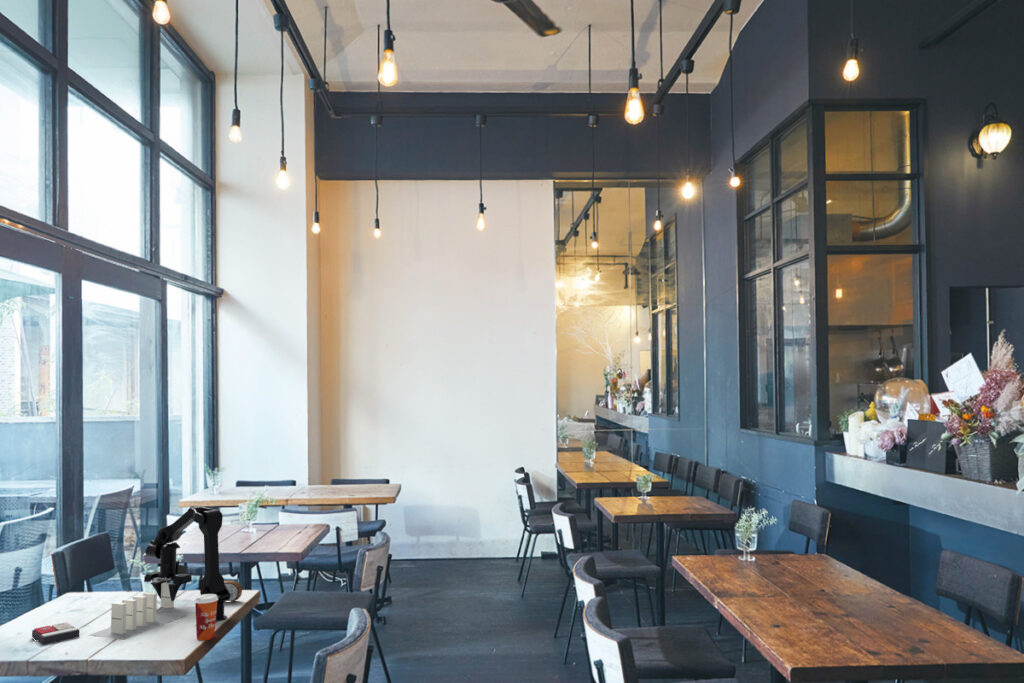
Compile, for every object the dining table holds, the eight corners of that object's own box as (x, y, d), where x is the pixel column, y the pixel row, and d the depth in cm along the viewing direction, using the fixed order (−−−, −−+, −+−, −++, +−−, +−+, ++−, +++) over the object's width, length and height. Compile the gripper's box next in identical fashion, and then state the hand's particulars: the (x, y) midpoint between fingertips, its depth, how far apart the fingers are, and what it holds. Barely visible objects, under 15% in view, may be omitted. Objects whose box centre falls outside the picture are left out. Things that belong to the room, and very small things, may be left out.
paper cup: (202, 643, 243) (203, 600, 244) (188, 639, 247) (189, 597, 248) (222, 636, 250) (223, 595, 251) (208, 632, 254) (209, 592, 255)
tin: (242, 601, 294) (242, 579, 295) (238, 603, 291) (238, 581, 292) (207, 600, 296) (207, 579, 296) (203, 602, 293) (203, 581, 293)
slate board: (152, 614, 277) (153, 612, 277) (186, 618, 271) (186, 615, 272) (88, 638, 250) (88, 635, 250) (123, 642, 245) (123, 639, 245)
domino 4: (145, 619, 267) (146, 592, 268) (156, 621, 265) (156, 593, 266) (142, 621, 265) (142, 593, 266) (152, 622, 264) (153, 594, 264)
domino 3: (135, 623, 263) (136, 595, 263) (146, 624, 261) (147, 596, 262) (132, 625, 261) (132, 596, 262) (142, 626, 259) (143, 597, 260)
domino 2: (125, 627, 258) (126, 598, 259) (136, 628, 257) (136, 599, 257) (121, 628, 257) (122, 600, 258) (132, 630, 255) (133, 601, 256)
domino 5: (163, 608, 285) (164, 582, 286) (173, 609, 283) (174, 583, 284) (160, 609, 283) (161, 583, 284) (170, 610, 282) (171, 584, 283)
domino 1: (114, 631, 254) (115, 602, 255) (125, 632, 252) (126, 603, 253) (110, 632, 253) (111, 603, 253) (121, 634, 251) (122, 604, 252)
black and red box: (67, 620, 260) (79, 627, 249) (67, 633, 259) (79, 640, 249) (31, 628, 252) (42, 635, 241) (31, 640, 251) (42, 648, 241)
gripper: (202, 556, 289) (201, 596, 288) (165, 554, 295) (164, 593, 294) (181, 562, 279) (180, 604, 278) (143, 560, 285) (142, 600, 284)
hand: (167, 600), depth 284 cm, fingers closed on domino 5, 5 cm apart
